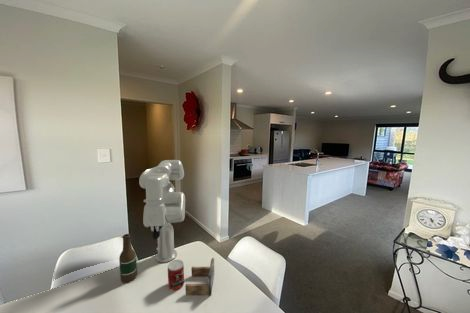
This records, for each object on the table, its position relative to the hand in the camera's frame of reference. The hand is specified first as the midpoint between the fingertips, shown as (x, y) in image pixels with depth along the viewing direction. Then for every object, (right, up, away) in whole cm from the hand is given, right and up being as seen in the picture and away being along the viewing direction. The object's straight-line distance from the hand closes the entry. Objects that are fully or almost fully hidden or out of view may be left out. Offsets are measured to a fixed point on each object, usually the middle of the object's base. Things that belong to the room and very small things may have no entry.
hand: (156, 237), depth 96 cm
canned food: (+9, -25, +2) cm, 27 cm away
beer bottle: (-18, -25, +7) cm, 31 cm away
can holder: (+21, -25, +2) cm, 33 cm away
